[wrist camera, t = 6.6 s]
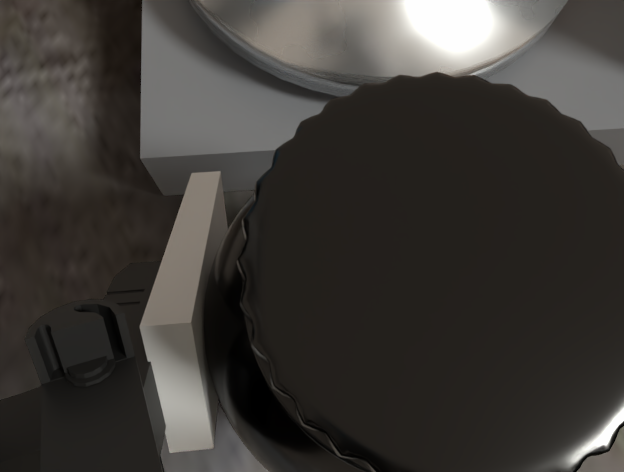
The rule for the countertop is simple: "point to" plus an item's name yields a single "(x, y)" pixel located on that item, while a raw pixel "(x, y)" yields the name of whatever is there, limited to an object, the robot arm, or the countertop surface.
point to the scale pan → (377, 37)
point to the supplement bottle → (425, 288)
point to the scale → (306, 103)
